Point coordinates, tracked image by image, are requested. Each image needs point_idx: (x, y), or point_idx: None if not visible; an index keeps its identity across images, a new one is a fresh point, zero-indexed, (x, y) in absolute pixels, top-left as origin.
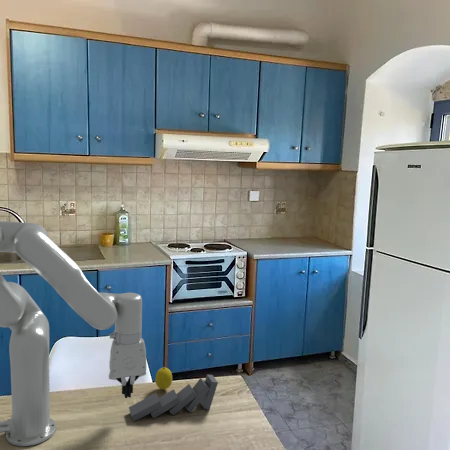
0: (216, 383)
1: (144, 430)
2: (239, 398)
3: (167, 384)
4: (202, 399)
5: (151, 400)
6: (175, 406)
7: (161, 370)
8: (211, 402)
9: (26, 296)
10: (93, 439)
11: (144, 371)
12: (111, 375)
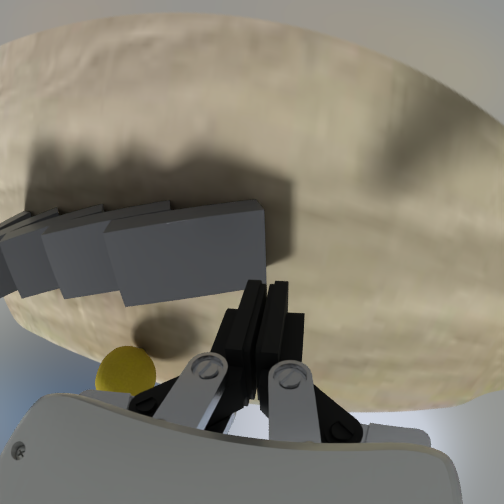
0: None
1: (214, 119)
2: None
3: (115, 352)
4: None
5: (147, 266)
6: (73, 218)
7: None
8: (6, 220)
9: None
10: (445, 127)
11: (35, 407)
12: (455, 469)
